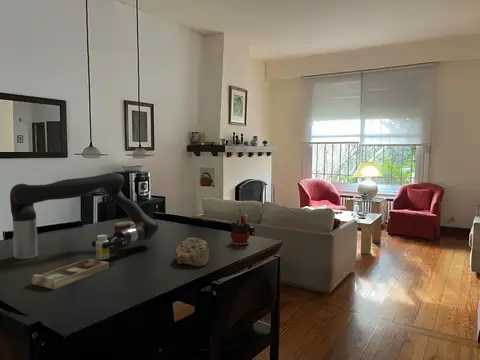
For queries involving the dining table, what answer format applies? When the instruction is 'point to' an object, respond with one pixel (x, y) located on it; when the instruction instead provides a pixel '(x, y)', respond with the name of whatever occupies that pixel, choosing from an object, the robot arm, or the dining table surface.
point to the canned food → (122, 227)
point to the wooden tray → (69, 273)
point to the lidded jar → (130, 223)
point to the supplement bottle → (100, 251)
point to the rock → (192, 252)
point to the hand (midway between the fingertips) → (97, 245)
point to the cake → (240, 231)
